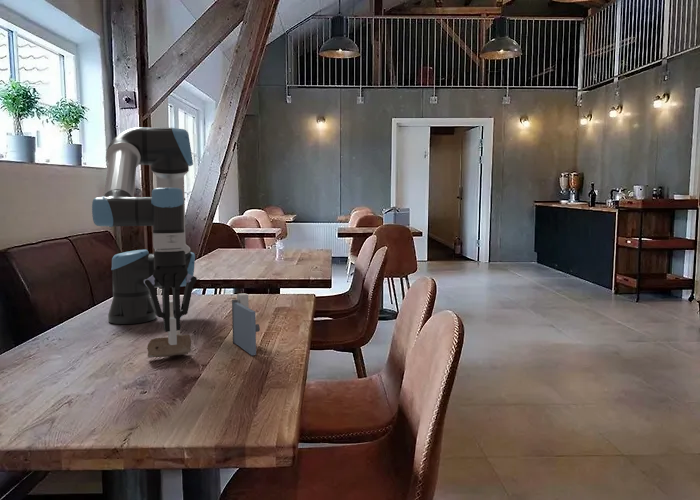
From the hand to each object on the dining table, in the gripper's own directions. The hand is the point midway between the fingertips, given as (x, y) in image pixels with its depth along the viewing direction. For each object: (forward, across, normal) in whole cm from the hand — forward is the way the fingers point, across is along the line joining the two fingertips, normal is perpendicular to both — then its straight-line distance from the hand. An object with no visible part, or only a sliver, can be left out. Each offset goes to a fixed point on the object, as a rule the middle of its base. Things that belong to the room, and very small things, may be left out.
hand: (172, 343), depth 145 cm
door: (+5, +20, +12) cm, 24 cm away
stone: (+5, +4, +4) cm, 8 cm away
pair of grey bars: (+5, +10, +12) cm, 16 cm away
